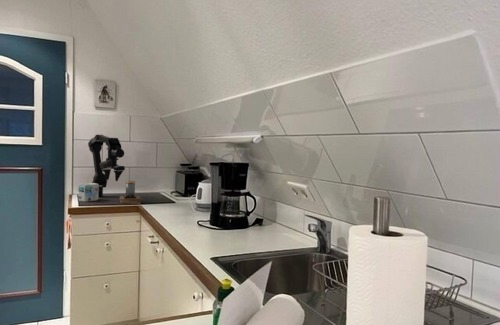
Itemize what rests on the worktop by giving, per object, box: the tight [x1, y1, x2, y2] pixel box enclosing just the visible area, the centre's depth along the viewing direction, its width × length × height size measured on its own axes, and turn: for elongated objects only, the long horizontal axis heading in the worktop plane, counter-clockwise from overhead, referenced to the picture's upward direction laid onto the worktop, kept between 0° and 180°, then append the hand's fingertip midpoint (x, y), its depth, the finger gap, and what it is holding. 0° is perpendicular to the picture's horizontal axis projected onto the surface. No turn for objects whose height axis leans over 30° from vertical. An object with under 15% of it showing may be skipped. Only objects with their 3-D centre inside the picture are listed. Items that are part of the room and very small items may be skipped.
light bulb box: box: [78, 182, 99, 202], centre depth 248 cm, size 11×7×11 cm, turn 148°
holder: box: [119, 195, 142, 205], centre depth 247 cm, size 12×12×3 cm
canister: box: [125, 180, 136, 199], centre depth 246 cm, size 6×6×13 cm
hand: (111, 180), depth 251 cm, fingers open, 9 cm apart
